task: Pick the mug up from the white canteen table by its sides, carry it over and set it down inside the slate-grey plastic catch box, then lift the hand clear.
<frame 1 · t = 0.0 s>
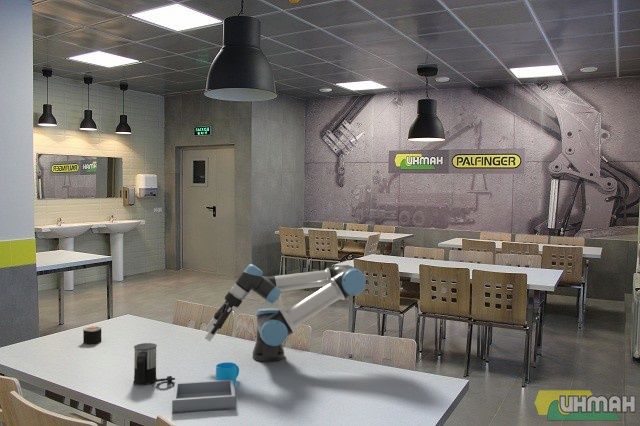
hand: (207, 335, 229), 15 cm above the table, tool tilted 35°, fingers open, 13 cm apart
milk frother: (154, 382, 213), on the table
mug: (229, 384, 213), on the table
sushi: (92, 342, 267), on the table
catch box: (204, 402, 194), on the table
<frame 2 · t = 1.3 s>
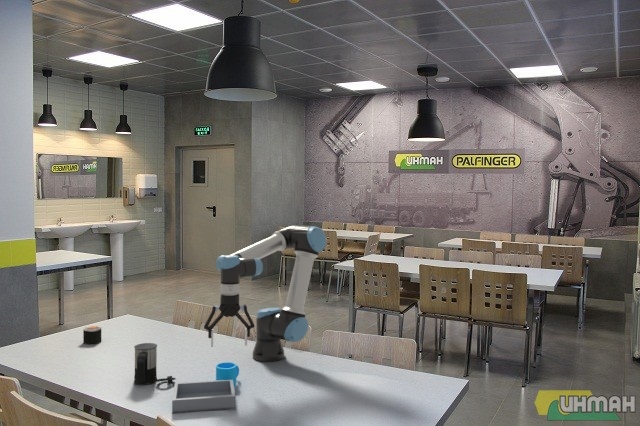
hand: (229, 345, 212), 16 cm above the table, tool pointing down, fingers open, 13 cm apart
nothing on the table moved.
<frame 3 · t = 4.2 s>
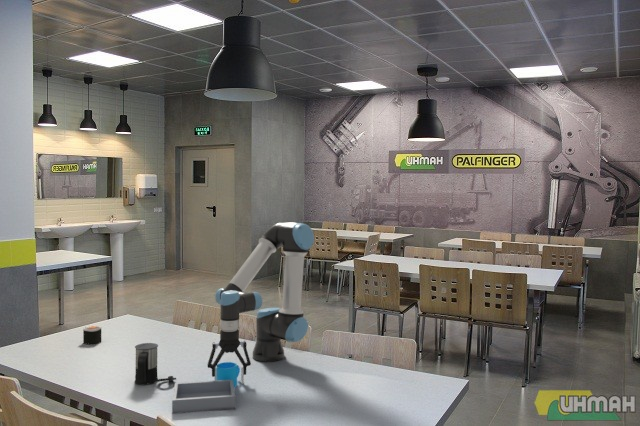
hand: (229, 383, 213), 0 cm above the table, tool pointing down, fingers open, 10 cm apart
mug: (229, 384, 213), on the table, touching gripper
everything else where it was.
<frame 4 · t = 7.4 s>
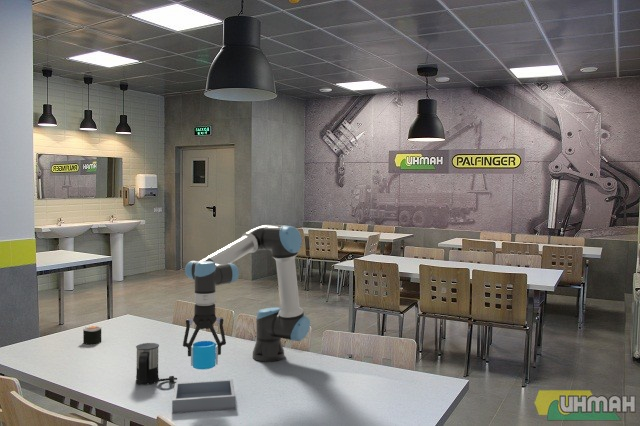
hand: (204, 364, 194), 14 cm above the table, tool pointing down, fingers closed on mug, 8 cm apart
mug: (207, 364, 194), point 14 cm above the table, touching gripper
everything else where it was.
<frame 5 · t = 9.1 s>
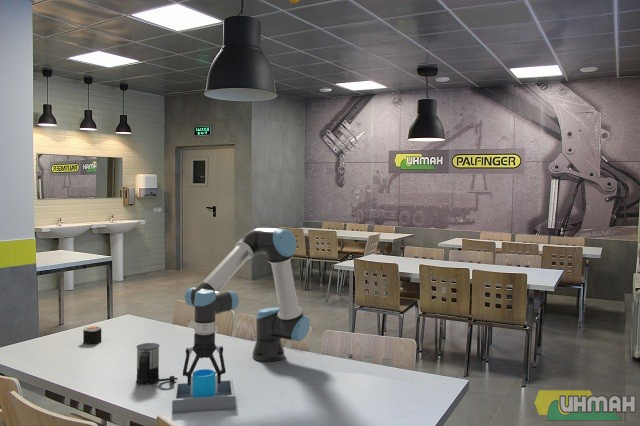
hand: (204, 392, 194), 4 cm above the table, tool pointing down, fingers closed on mug, 8 cm apart
mug: (207, 393, 194), point 3 cm above the table, touching gripper
everything else where it was.
when the fingers open (2 cm above the table, at t = 10.3 s): mug stays where it is, resting on catch box.
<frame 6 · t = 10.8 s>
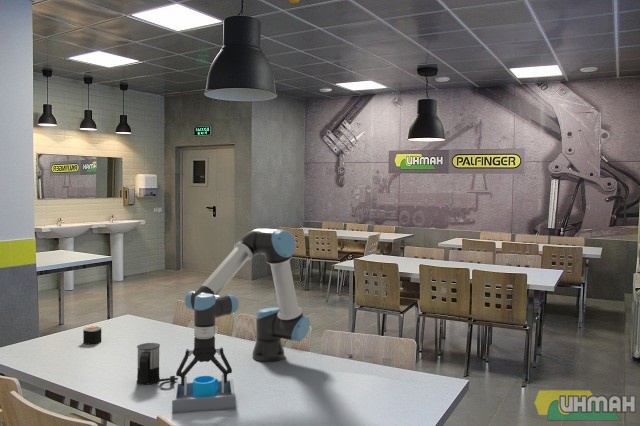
hand: (204, 392, 194), 3 cm above the table, tool pointing down, fingers open, 13 cm apart
mug: (207, 400, 195), point 1 cm above the table, touching catch box
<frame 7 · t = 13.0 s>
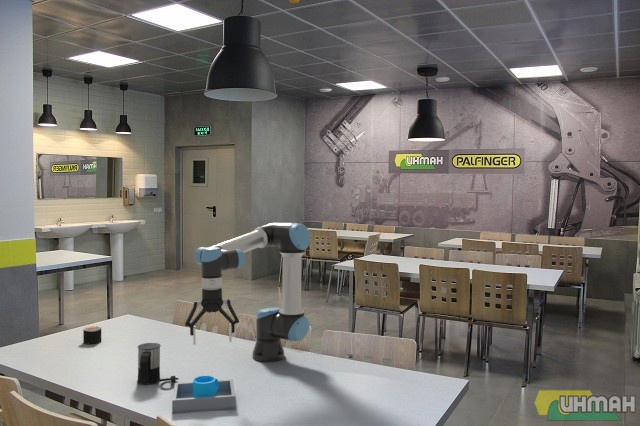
hand: (212, 342, 201), 20 cm above the table, tool pointing down, fingers open, 13 cm apart
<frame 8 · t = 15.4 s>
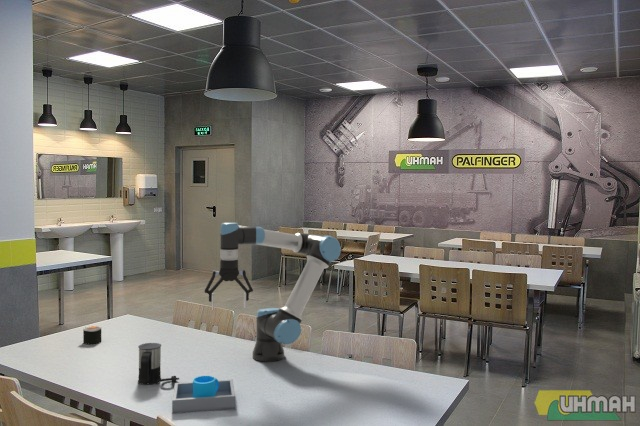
hand: (228, 308, 221), 29 cm above the table, tool pointing down, fingers open, 13 cm apart
at the end: mug inside the target area on the catch box (1.3 cm from its centre), point 0.6 cm above the catch box's base; mug tilted 0°; the gripper is holding nothing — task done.
